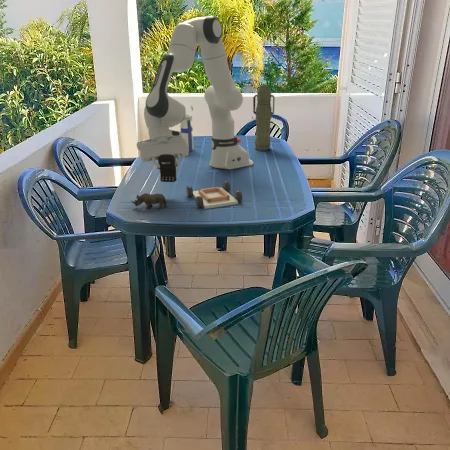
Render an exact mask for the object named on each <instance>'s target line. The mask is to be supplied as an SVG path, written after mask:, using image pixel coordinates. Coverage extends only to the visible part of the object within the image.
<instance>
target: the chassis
mask: <svg viewBox="0 0 450 450" xmlns="http://www.w3.org/2000/svg"><path fill="white" fill-rule="evenodd" d="M230 184H231V183H230V182H229V181H228V180H225V181H223V182H222V186H221V187H220V186H216V187H208V188H201V189H198V190H194V189H193V186H192V185H188V186H186V189H185V193H186V196H187V198H190V197H192V198H194V199H195V204H196V207H197V208H203V209H205V210H206V209H212V208H214V209H215V208H220V207H226V206H232V205H238V204H239V203H240V202H243V194H242V193H243V192H242V191H241V190H235V191H234V195H231V194H230V193H229V192H230V190H231V185H230Z"/></svg>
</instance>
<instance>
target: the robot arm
mask: <svg viewBox="0 0 450 450" xmlns="http://www.w3.org/2000/svg"><path fill="white" fill-rule="evenodd" d="M173 29H174V30H173V32H172V34H171V37H170V41H169V44H168V51H167V53H166V54H165V55H163V56H162V58H161V59H160V62H159V64H158V67H157V70H156V73H155V76H154V79H153V83H152V86H151V89H150V91H149V93H148V94H147V97H146V99H145V106H144V109H143V117H144V122H145V126H146V128H147V130H148V138H149V139H141V140H139V141H137V143H136V147H137V149H138V151H139V158H140V161H141V162H143V163H145V162H151V164H152V165H153V166H154V167H155V170H160V166H159V165H160V164H158V163H157V161H158V158H159V156H160V155H161V154H173V155H175V157H176V168H177V167H180V166H181V163H180V162H181V161H180V160H181V158H185V157H188V155H189V153H190V151H189V148H188V145H187V143H186V141H185V139H184V138H182V133H181V130H180V131H179V130H173V129H170V128H172V127H175V126H177V125H180V124H181V122H182V121H183V119H184V118H185V115H187V113H186V107H185V105H184V104H182V103H181V102H179V101H178V100H177V99H175V98H173V97H171V96H169V94H168V91H167V90H168V88H169V84H170V81H171V78H172V74H173V73H184V72H186V71H189V70H190V69H191V68H192V66H193V64H194V62H195V61H194V60H195V56H196V50H197V48H196V47H199V46H200V52H201V53H200V54H201V58H202V62H203V66H204V71H205V75H206V77H207V79H208V80H209V82H210V84H211V85H209V86H207V87H206V88H205V91H204V100H205V102H206V104H207V106H208V109H209V114H210V115H209V116H210V118H211V119H210V120H211V133H212V135H211V140H210V141H211V142H210V144H211V156H210V161H209V166H210V167H212V168H216V169H226V170H234V169H239V168H245V167H250V166H253V165H254V161H253V160H252V159H250V156H249V153H248V151H247V150H246V149H245V148H244V147H242V146H241V145H240V144H239V143H242V139H241V138H240V137H236V136H235V120H234V118H233V117H232V113H231V112H232V111H236V110H238V109H240V108H241V106H242V104H243V100H244V97H243V94H242V92H241V91H240V90H239V89H238V87H237V85H236V83H235V81H234V78H233V75H232V74H231V71H230V68H229V62H228V59H227V57H228V56H227V53H226V49H225V45H224V42H223V39H222V35H223V34H222V33H223V26H222V22H221V21H220V20H219V19H218V17H216V16H214V15H207V16H199V17H195V18H192V19H188V20H182V21H180V22H178V24H176V26H175V27H174V28H173Z"/></svg>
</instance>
